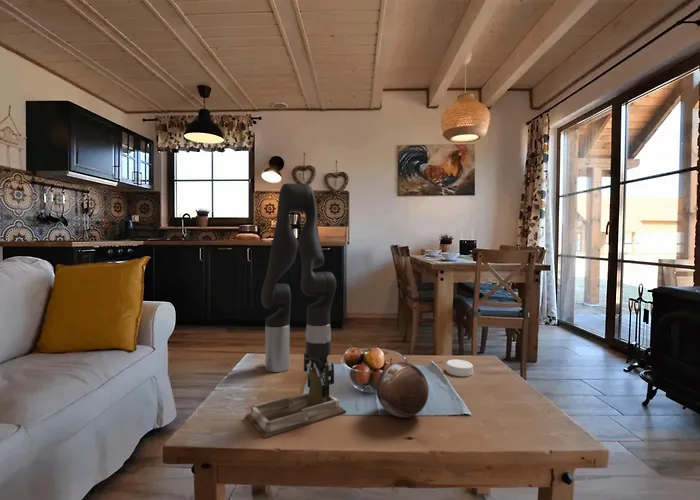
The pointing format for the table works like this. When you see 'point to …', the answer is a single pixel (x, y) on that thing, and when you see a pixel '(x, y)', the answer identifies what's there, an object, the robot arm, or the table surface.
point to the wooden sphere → (402, 389)
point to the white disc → (459, 367)
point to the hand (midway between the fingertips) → (318, 391)
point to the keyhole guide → (291, 414)
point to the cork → (315, 390)
